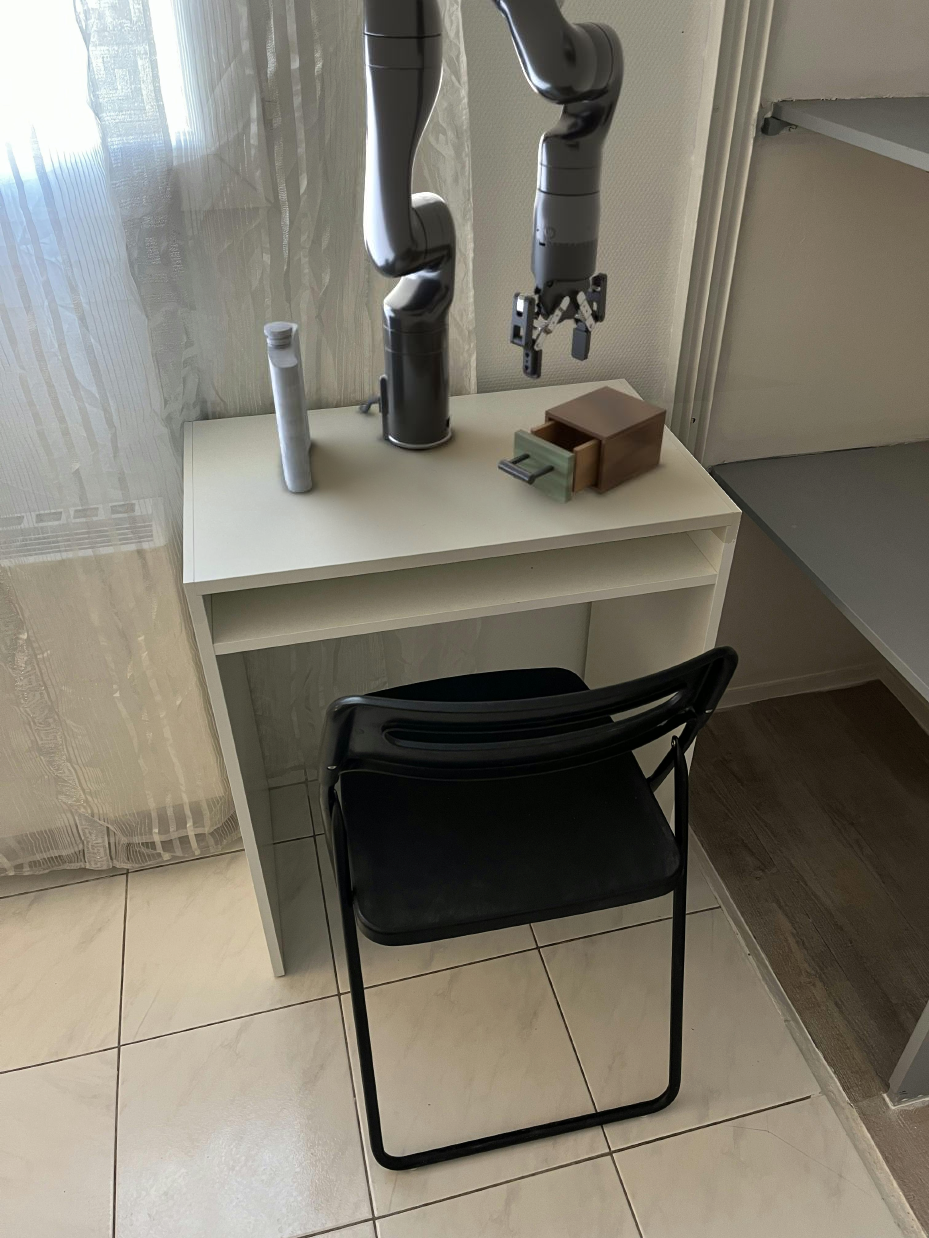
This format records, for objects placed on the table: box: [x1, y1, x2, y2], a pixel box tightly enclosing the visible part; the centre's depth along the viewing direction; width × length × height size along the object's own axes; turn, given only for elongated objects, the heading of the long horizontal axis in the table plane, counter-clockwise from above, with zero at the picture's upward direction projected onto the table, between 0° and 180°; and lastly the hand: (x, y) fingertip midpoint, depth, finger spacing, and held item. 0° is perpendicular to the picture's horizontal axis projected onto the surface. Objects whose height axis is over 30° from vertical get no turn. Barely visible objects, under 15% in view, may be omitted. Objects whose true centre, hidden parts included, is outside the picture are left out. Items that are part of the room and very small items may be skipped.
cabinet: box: [544, 385, 667, 495], centre depth 129 cm, size 12×11×8 cm
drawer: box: [497, 419, 602, 504], centre depth 124 cm, size 16×10×7 cm, turn 132°
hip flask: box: [263, 321, 313, 493], centre depth 126 cm, size 16×4×20 cm, turn 8°
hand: (556, 367), depth 116 cm, fingers open, 8 cm apart
